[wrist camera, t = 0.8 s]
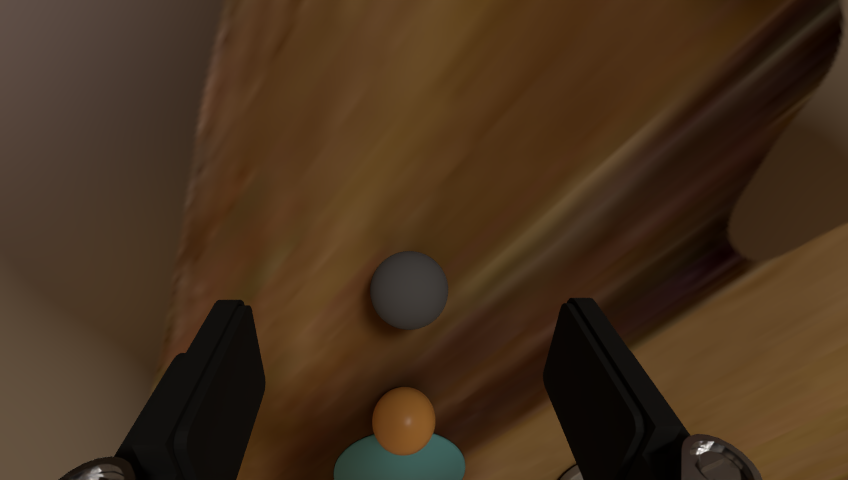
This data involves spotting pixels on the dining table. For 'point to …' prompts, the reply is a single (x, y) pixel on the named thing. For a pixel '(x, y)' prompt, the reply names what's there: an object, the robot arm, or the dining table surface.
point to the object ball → (403, 421)
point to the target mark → (400, 462)
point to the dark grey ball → (409, 290)
